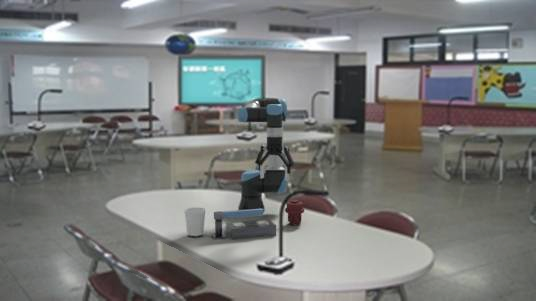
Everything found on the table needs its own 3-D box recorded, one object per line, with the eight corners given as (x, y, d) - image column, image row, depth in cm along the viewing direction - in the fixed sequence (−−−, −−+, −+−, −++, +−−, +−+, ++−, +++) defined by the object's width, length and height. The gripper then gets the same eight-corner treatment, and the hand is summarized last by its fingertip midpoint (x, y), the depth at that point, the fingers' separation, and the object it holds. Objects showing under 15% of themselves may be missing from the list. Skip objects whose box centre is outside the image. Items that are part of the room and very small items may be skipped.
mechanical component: (305, 222, 286) (302, 227, 277) (286, 221, 288) (283, 226, 279) (305, 199, 285) (302, 203, 275) (286, 198, 287) (283, 202, 277)
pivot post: (211, 235, 261) (210, 218, 260) (223, 234, 262) (223, 217, 261) (213, 239, 255) (213, 221, 254) (226, 238, 257) (226, 220, 256)
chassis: (225, 232, 266) (225, 222, 265) (268, 229, 273) (268, 218, 272) (232, 239, 255) (231, 228, 254) (276, 235, 261) (276, 224, 261)
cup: (199, 239, 255) (199, 212, 254) (181, 237, 259) (180, 211, 257) (209, 233, 264) (208, 208, 263) (191, 231, 268) (190, 206, 266)
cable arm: (215, 220, 255) (214, 213, 254) (212, 217, 259) (212, 211, 259) (264, 216, 262) (263, 210, 262) (261, 214, 267) (261, 208, 266)
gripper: (248, 135, 266) (248, 178, 269) (294, 138, 255) (294, 182, 258) (255, 134, 273) (255, 175, 275) (301, 136, 262) (300, 179, 264)
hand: (274, 179), depth 267 cm, fingers open, 13 cm apart
